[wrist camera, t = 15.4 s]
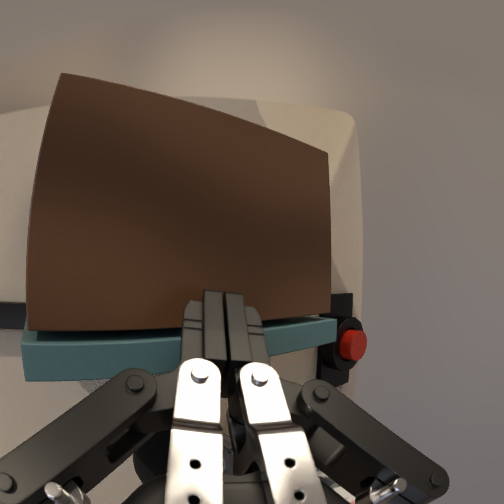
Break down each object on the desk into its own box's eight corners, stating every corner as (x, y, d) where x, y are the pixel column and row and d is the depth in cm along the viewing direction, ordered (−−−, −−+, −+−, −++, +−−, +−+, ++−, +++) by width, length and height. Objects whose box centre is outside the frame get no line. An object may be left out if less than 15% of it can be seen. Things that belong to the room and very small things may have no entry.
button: (339, 331, 35) (351, 333, 34) (355, 327, 37) (367, 328, 36) (337, 361, 35) (349, 363, 34) (354, 355, 37) (366, 357, 36)
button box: (318, 295, 36) (335, 296, 34) (349, 292, 40) (365, 293, 38) (314, 393, 35) (330, 397, 33) (345, 380, 39) (360, 384, 38)
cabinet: (-29, 154, 15) (-62, 63, 6) (226, 189, 29) (331, 153, 20) (-43, 324, 14) (-102, 373, 5) (223, 322, 28) (332, 344, 19)
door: (28, 306, 17) (20, 343, 8) (230, 305, 27) (337, 319, 19) (29, 333, 17) (27, 392, 8) (229, 325, 27) (336, 347, 19)
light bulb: (171, 385, 24) (243, 432, 17) (172, 443, 24) (240, 502, 16) (104, 390, 21) (150, 452, 13) (110, 452, 20) (159, 526, 12)
